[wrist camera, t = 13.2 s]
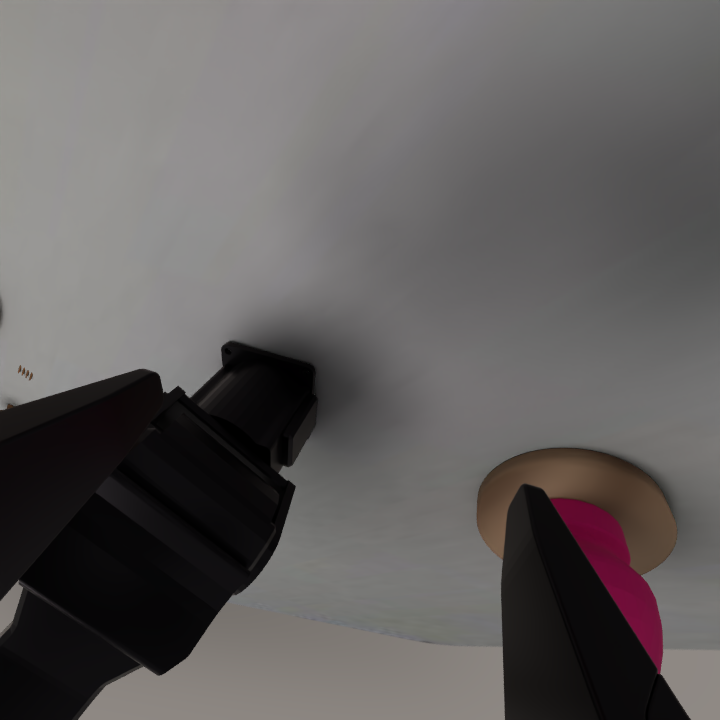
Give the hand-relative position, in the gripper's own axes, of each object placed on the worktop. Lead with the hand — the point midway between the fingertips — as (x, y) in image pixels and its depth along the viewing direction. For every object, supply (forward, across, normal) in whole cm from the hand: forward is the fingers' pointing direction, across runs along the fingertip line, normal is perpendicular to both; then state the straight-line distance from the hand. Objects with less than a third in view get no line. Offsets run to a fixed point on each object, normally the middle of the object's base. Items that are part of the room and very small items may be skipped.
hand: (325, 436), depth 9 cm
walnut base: (+13, -13, +14) cm, 23 cm away
